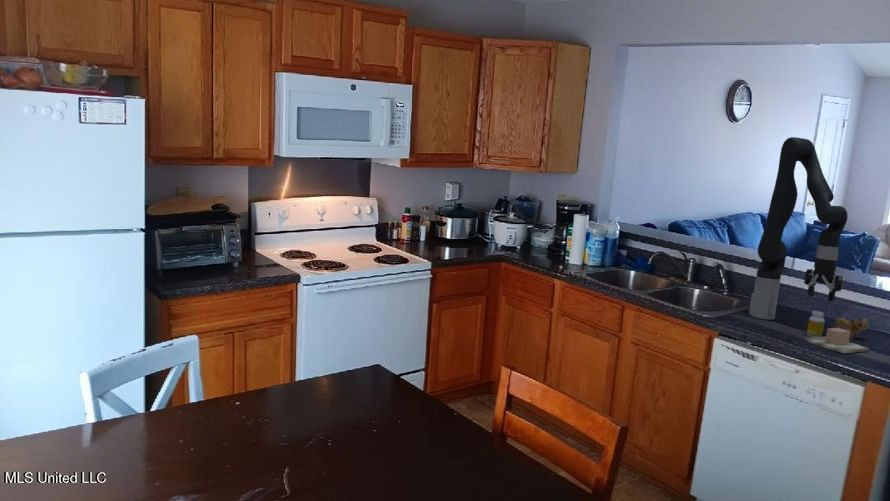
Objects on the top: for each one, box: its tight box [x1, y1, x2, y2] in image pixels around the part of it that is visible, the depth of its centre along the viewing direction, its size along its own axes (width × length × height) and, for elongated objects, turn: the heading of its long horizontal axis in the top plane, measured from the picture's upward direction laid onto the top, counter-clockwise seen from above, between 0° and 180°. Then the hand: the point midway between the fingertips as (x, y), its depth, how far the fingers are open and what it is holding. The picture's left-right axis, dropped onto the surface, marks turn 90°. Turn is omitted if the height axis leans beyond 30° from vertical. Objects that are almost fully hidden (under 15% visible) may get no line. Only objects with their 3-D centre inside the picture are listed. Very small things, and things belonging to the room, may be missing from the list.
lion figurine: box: [830, 317, 870, 340], centre depth 281 cm, size 15×5×9 cm, turn 35°
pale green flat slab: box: [804, 336, 870, 354], centre depth 266 cm, size 16×14×1 cm
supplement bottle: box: [806, 310, 826, 338], centre depth 277 cm, size 5×5×10 cm
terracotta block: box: [825, 327, 851, 345], centre depth 266 cm, size 5×6×5 cm
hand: (820, 298), depth 276 cm, fingers open, 8 cm apart
